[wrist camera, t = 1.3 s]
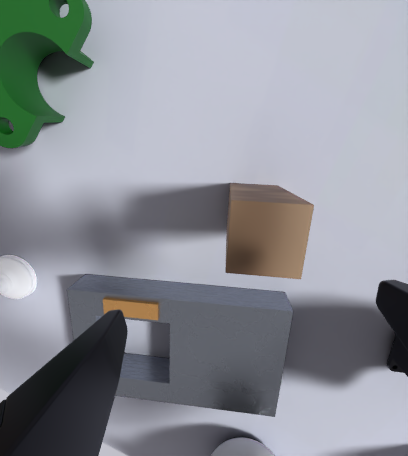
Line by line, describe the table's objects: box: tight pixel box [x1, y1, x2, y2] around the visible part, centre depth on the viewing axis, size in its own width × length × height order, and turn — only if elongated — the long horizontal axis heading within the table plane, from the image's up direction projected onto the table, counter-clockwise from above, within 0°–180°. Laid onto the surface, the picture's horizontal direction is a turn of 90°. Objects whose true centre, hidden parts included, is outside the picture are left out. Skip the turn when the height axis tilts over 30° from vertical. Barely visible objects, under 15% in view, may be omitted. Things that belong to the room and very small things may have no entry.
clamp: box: [0, 0, 94, 148], centre depth 17 cm, size 12×6×9 cm, turn 136°
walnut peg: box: [226, 183, 314, 279], centre depth 17 cm, size 4×4×9 cm
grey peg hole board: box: [67, 274, 293, 417], centre depth 24 cm, size 20×12×3 cm, turn 87°
